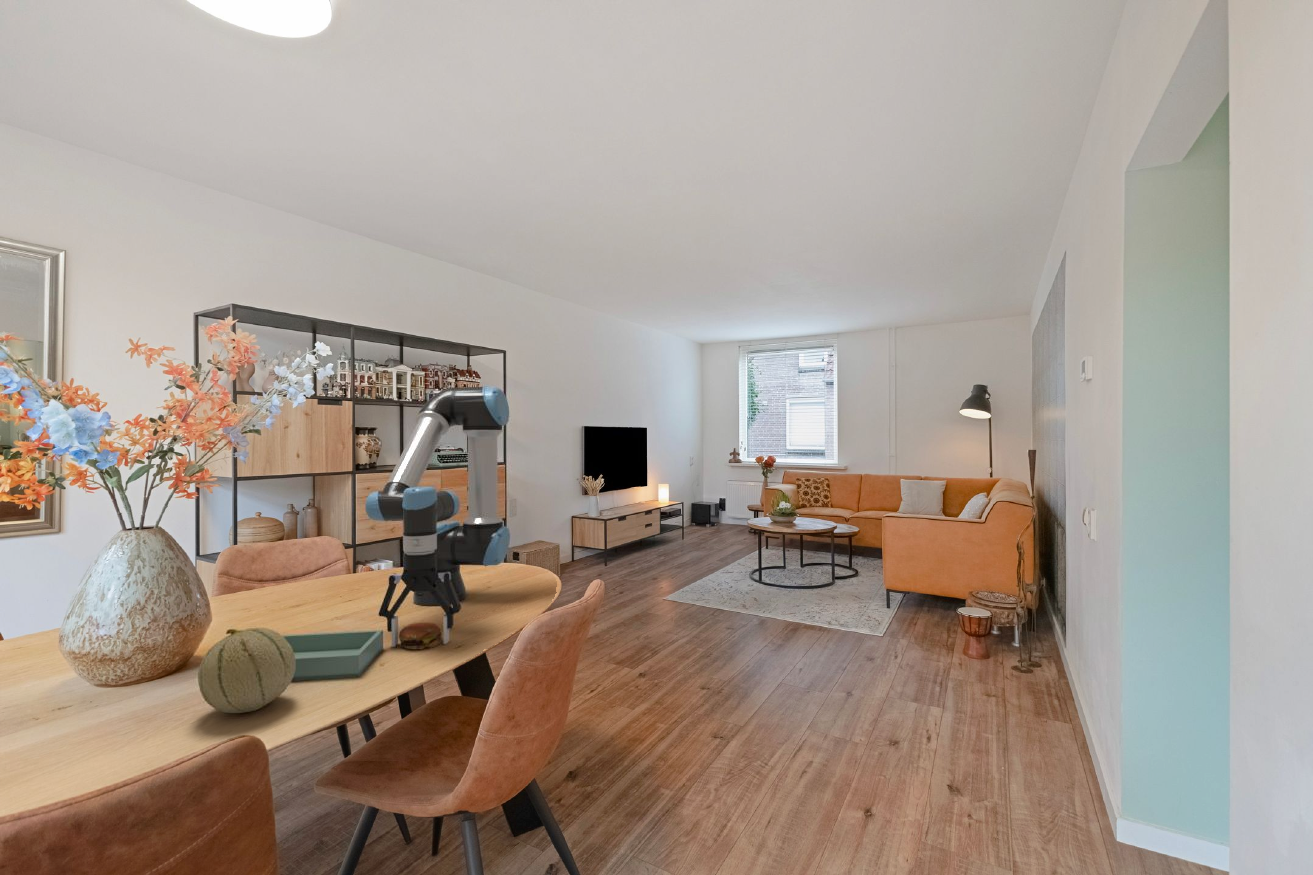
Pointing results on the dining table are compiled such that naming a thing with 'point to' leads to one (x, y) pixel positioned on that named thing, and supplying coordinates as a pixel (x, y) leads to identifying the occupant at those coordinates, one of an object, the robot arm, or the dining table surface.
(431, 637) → the burger
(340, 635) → the teal tray
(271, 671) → the cantaloupe
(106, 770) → the dining table surface
